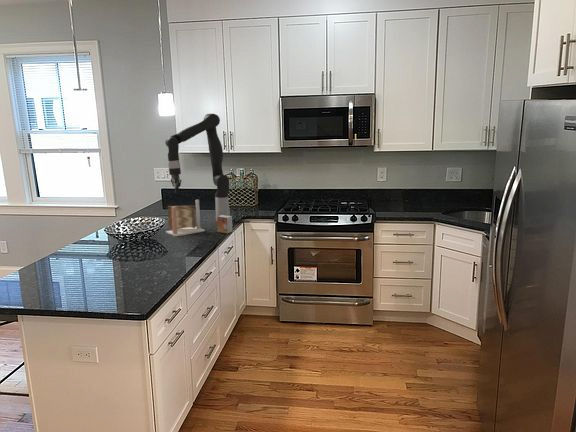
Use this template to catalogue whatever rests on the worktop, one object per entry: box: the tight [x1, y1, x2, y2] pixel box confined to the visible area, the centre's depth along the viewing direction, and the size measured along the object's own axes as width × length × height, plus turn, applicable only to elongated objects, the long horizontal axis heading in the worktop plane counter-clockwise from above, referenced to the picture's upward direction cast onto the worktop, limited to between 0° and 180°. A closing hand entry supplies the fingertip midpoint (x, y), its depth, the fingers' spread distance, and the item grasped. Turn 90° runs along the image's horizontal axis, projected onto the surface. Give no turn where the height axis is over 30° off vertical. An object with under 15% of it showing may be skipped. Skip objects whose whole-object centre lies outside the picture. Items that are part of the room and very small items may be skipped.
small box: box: [216, 215, 233, 234], centre depth 292 cm, size 8×6×10 cm
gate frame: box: [165, 199, 206, 237], centre depth 291 cm, size 21×13×20 cm, turn 132°
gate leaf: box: [167, 205, 196, 229], centre depth 295 cm, size 17×1×15 cm, turn 97°
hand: (177, 193), depth 305 cm, fingers closed
